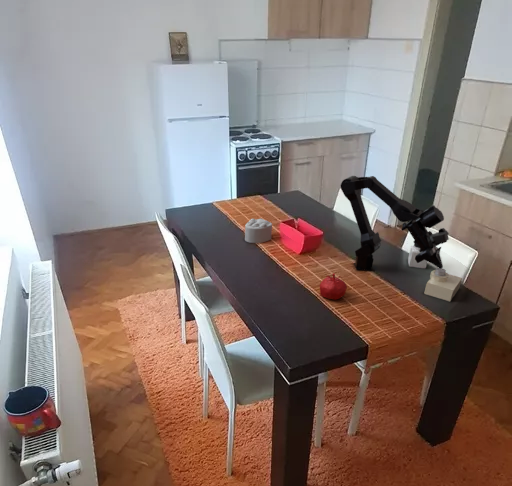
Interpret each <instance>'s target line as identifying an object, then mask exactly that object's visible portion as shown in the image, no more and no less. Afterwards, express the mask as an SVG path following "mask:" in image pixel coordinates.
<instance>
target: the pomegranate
mask: <svg viewBox="0 0 512 486" xmlns="http://www.w3.org/2000/svg"><path fill="white" fill-rule="evenodd" d="M331 275H332V276H330V275H325V278H323V279H322V280H321V282H320V283H319V294H320V295H321V297H323V298H325V299H329V300H335V301H336V300H339V299H341V298H343V297H344V296H345V294H346V292H347V289H348V285H347V283H346V282H345V281H344V280H343V279H340V276H337V277H336V273H333V272H332V274H331Z"/></svg>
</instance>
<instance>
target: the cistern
mask: <svg viewBox="0 0 512 486" xmlns="http://www.w3.org/2000/svg"><path fill="white" fill-rule="evenodd" d="M435 272H436V269H434V270H432V271H431V272H430V274H429V279H428V281H427V282H426V284H425V288H424V295H427V296H430V297H434V298H437V299H439V300H443V301H446V302H451V301H452V300H453V298H454V297H455V295H457V292H458V291H459V290H460V286H461V283H462V280H463V277H461V276H457V275H453V274H450V273H448V272H447V271H446V272H445V276H438V275H436V274H435Z"/></svg>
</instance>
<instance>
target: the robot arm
mask: <svg viewBox="0 0 512 486" xmlns="http://www.w3.org/2000/svg"><path fill="white" fill-rule="evenodd" d="M364 189H368V190H369V191H370V192H372V193H373V195H375V196H376V197H378V199H380V200H381V201H382V202H383V203H385V205H387V206H388V207H389V209H391V211H392V214H393V215H394V216H395V217H396V219H397V220H398V221H400V222H401V223H402V226H401V230H400V231H401V232H402V231H405V230H406V229H407V231H408V232H409V234H410V235H411V237H412V238H413V245H414V244H415V243H417V245H418V246H419V248H420V250H419V252H420V253H418V254H417V255H416V256H415V260H416V262H417V263H419V262H421V261H423V260H426V261H428V262H427V263H430V264H431V265H433V266H435V267H437V268H440V269H441V268H443V269H444V264H443V260H442V258H441V254H440V253H441V249H442V246H439V245H443V244H445V243H447V242H448V241H449V240H450V238H449V234H450V233H449V232H448V230H446V229H445V227H442V228H439V229H438V231H437V232H435V233H433V232H432V231H430V230H428V229H431V228H433V227H435V226H437V225H438V224H440V223H442V222H443V221H444V220H445V216H444V214H443V212H442V210H440V209H439V208H438V207H436V206H435V205H434V204H433V205H430V207H428V208H427V209H425V210H422V209H419V208H417V207H416V206H415V205H414V204H412V203H411V202H409V201H407V200H405V199H402V198H400V197H398V196H397V195H396V194H394V192H392V191H391V190H390V188H388V187H387V186H385V185H384V184H383V183H382V182H381V181H379V179H377V177H376V176H374V175H370V176H356V175H351V176H349V177H347V178H344V179H342V181H341V183H340V190H341V192H342V193H343V195H344V197H345V198H346V199H347V200H348V201H349V203H350V206H351V209H352V213H353V216H354V219H355V221H356V224H357V227H358V230H359V233H360V247H359V248H357V249H356V250H355V251H354V253H355V254H354V255H355V260H354V263H353V266H354V268H355V270H356V271H370V272H371V271H372V268H373V264H374V255H373V254H374V253H375V252H376V251H378V249H380V247H381V245H382V244H381V243H382V240H381V238H380V233H379V232H378V231H376V232H375V231H374V230H373V228H372V226H371V223H370V220H369V216H368V214H367V211H366V210H367V209H366V207H365V205H364V202H363V198H362V190H364ZM427 228H428V229H427ZM438 246H439V247H438Z"/></svg>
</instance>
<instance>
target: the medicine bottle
mask: <svg viewBox="0 0 512 486" xmlns="http://www.w3.org/2000/svg"><path fill="white" fill-rule="evenodd" d="M419 250H420V248H419V246H418V245H417V243H415V244H414V243H413V245H411V246H410V250H409V254H408V258H407V262H408V267H409V268H417V269H427V265H428V263H429V262H428V261H426V260H423V261H421V262H419V263H417V262H416V260H415V256H416V255H417V254H418V253H420V252H419Z"/></svg>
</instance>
